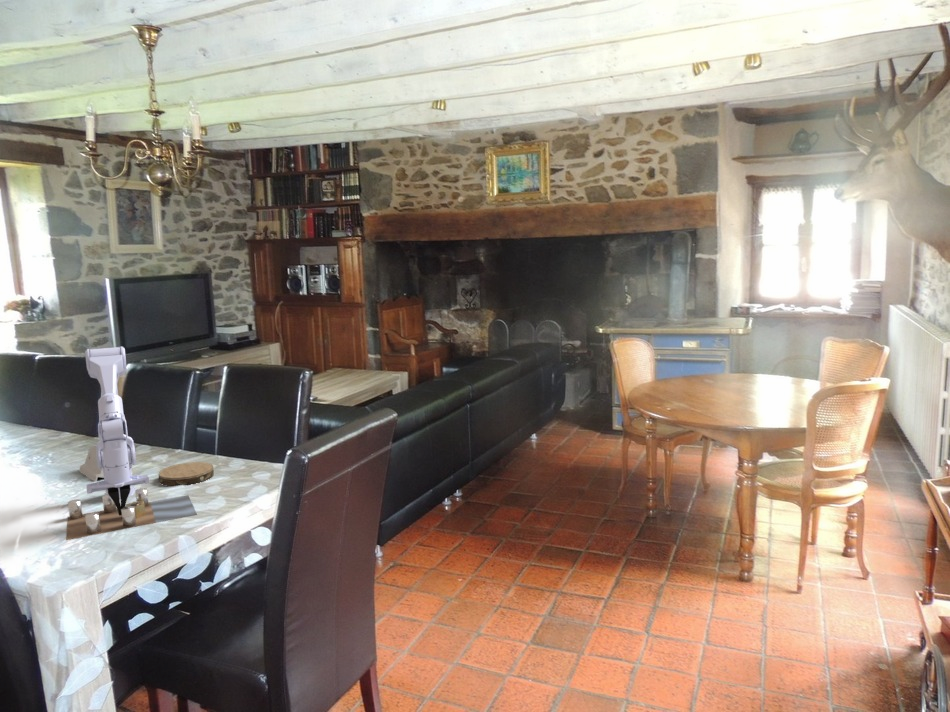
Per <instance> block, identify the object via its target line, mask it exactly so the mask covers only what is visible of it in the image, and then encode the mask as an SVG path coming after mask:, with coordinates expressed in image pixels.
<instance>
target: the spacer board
mask: <svg viewBox="0 0 950 712" xmlns="http://www.w3.org/2000/svg"><path fill="white" fill-rule="evenodd" d="M148 502H149V505H148V506H146V507H145V515H144V516H141V517H138V518H136V525H135V526H132V527H123V521H122V515H120V516H119V513H118V510H117V507H116V511H115V512H113V513H104V509H103V510H97V511H92V512H87V513H82V514H83V517H82V518H79V519H75V520H71V519H70V517H69V516H67V521H66V522H67V523H66V537H65V538H66V539H65V540H66V541H68V540H69V541H70V540H74V539H79V538H85V537H89V536H95V535H100V534H105V533H110V532H111V533H112V532H115V531H122V530H127V529H132V528H136V527H142V526H146V525H152V524H157V523H161V522H163V523H164V522H167V521H168V522H169V521H173V520H177V519H183V518H189V517H194V516H198V514H197V513H198V512H197V510H196V509H195V507H194V504H193V502H192V500H191V498H190V496H189V494H187V495H181V496H177V497H176V496H175V497H171V498H170V497H169V498H165V499H159V500H153V501H148ZM125 507H126V505H125ZM90 513H99V518H100V528H101V531H100V532H99V533H96V534H87V527H86V518H85V516H86V515H87V514H90Z"/></svg>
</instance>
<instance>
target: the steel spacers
mask: <svg viewBox="0 0 950 712" xmlns="http://www.w3.org/2000/svg"><path fill="white" fill-rule="evenodd" d="M134 495H135V502H137V501H144V505H145V507H146V506H148V505H149V502H150V501H149V491H148V488H147V487H142V488H141V487H140V488H137V489H135V493H134ZM67 506H68V507H67V508H68V515H69V516H68V517H70V519H71V520H75V519H79V518H82V517H83V514H84V513H83V508H82V500H81V499H78V498H76V499H71V500H69V501H67ZM102 506H103V510H104V513H113V512H115V511H116V508H117V507H116V505H115V503H114V502H113V500H112V499H111V497H110V496H109V494H106V495H105V494H104V495H102ZM121 511H122V521H123V527H132V526H135V525H136V518H135V508H134V507H133V506H128V507H124V508H122V509H121ZM89 513H90V514H87V515H86V516H85V518H86V527H87V534H96V533H99V532H100V531H101V528H100V518H99V513H91V512H89ZM132 528H133V527H132ZM96 535H97V534H96Z"/></svg>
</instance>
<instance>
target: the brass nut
mask: <svg viewBox="0 0 950 712" xmlns="http://www.w3.org/2000/svg"><path fill="white" fill-rule="evenodd" d="M125 506H126V507H128V506H133V507H134V508H135V518H138V517H141V516H144V515H145V505H144V501H137V502H136V501H132V502H130V503H129V502H128V503H126V505H125Z"/></svg>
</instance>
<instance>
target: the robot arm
mask: <svg viewBox="0 0 950 712" xmlns="http://www.w3.org/2000/svg"><path fill="white" fill-rule="evenodd" d="M84 355H85V364H86V371H87V373H88V375H89V377H90V378H91V379H96V380H97V381H98V384H99V385H100V391H101V392H100V393H101V396H100V398H98V400H97V407H98V417H99V418H98V419H99V422H98V424H97V432H98V439H99V440H98V441H97V442H96V444H95V446H96V455H97V465H98V468H99V469H100V470H102V467H103V472H104V478H103V479H104V480H100V481H96V482H93V483H87V484H86V493H87V494H93V493H96V492H100V491H105V493H104V495H106V494H109V496H110V497H111V499H112V500H113V502H114V503H115V505H116V508H117V510H118V513H119V516H120V515H122V511H121V509H122V508H124V507H125V506H126V504H127V500H128V498H130V497H132V496H134V495H135V490H136V489H135V488H134V486H138V485H144V484H145V485H148V484H150V476H149V474H143V475H133V466H135V464H136V463H137V460H136V459H137V458H136V448H135V443H134V440H133V438H132V437H131V436H129V434H128V426H127V420H126V417H125V414H124V405H123V398H122V397H121V396H120V395H119V391H118V389H119V388H118V382H119V378H120V377H122V376H124V375H126V371H127V358H126V349H125V347H124V346H117V347H116V346H115V347H104V348H90V349H89V348H87V349H86V350H85V353H84ZM124 433H125V434H124Z"/></svg>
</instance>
